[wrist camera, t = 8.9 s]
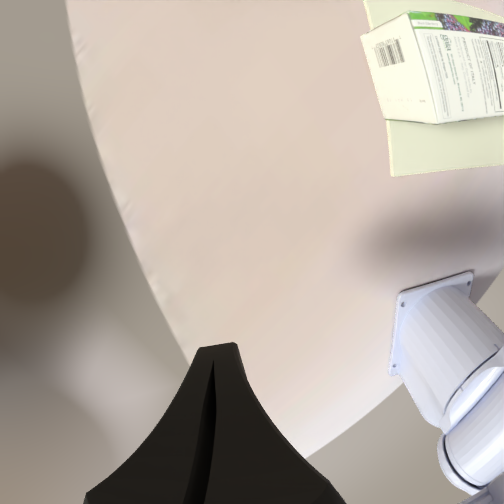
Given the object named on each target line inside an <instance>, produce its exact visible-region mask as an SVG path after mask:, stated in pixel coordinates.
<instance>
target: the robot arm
mask: <svg viewBox="0 0 504 504" xmlns="http://www.w3.org/2000/svg"><path fill="white" fill-rule="evenodd" d="M472 282H473V273H471V272H470V271H469V272H466V273H462V274H459V275H456V276H453V277H450V278H447V279H443V280H440V281H437V282H434V283H430V284H427V285H423V286H420V287H417V288H413V289H410V290H406V291H403V292H401V293H399V295H398V296H397V304H396V314H395V324H394V333H393V341H392V348H391V355H390V362H389V368H388V374H389V375H390V376H394V375H397V374H399V375H400V377H401V379H402V380H403V382H404V384H405V386H406V387H407V389H408V391H409V393H410V395H411V396H412V398H413V400H414V402H415V404H416V405H417V407H418V409H419V411H420V413H421V415H422V416H423V417H424V419H425V420H426V421H428V422H429V423H430V424H432V425H434V426H436V427H438V428H441V429H442V431H443V434H442V435H441V436H440V438H439V440H438V445H437V451H438V459H439V463H440V466H441V469H442V471H443V473H444V474H445V476H446V477H447V479H448V480H449V481H450V482H451V483H452V484H453V485H455V486H456V487H457V488H459V489H461V490H464V491H466V492H467V493H469V494H470V495H472V496H471V497H469V498H467V499H465V500H464V501H462V502H461V503H458V504H504V333H503V332H502V331H501V330H500V329H499V328H498V327H497V326H496V325H495V324H494V323H493V322H492V321H491V320H490V319H489V318H488V317H487V316H486V315H485V314H484V313H483V312H482V311H481V310H480V309H479V308H478V307H477V306H476V305H475V304H474V303H473V302H472V301H471V300H470V299H469V297H470V292H471V287H472ZM403 302H404V303H403ZM402 303H403V304H402ZM83 504H346V503H345V501H344V500H343V498H342V497H341V496H340V494H339V493H338V492H337V491H336V489H335V488H334V487H333V486H332V484H331V483H330V481H329V480H328V479H326V478H325V477H324V476H323V475H322V474H321V473H319V472H318V471H317V470H316V469H315V468H314V467H313V466H312V465H310V464H309V463H308V462H307V461H306V460H305V459H304V458H303V457H302V456H301V455H300V454H299V453H298V452H297V451H296V449H295V448H294V447H293V446H292V445H291V444H290V443H289V442H288V440H287V439H286V438H285V437H284V436H283V435H282V434H281V432H280V431H279V430H278V428H277V427H276V426H275V425H274V423H273V422H272V420H271V419H270V418H269V416H268V415H267V413H266V412H265V410H264V409H263V407H262V406H261V404H260V402H259V401H258V399H257V397H256V396H255V394H254V392H253V390H252V388H251V387H250V384H249V382H248V380H247V377H246V373H245V370H244V367H243V363H242V360H241V356H240V353H239V349H238V346H237V344H236V343H234V342H231V343H225V344H219V345H213V346H206V347H200V348H199V349H198V350H197V352H196V355H195V357H194V359H193V362H192V364H191V366H190V368H189V370H188V372H187V374H186V376H185V378H184V380H183V382H182V384H181V386H180V388H179V390H178V392H177V394H176V395H175V397H174V399H173V400H172V402H171V404H170V405H169V407H168V409H167V410H166V412H165V413H164V415H163V417H162V418H161V419H160V421H159V423H158V424H157V425H156V427H155V428H154V429H153V431H152V432H151V433H150V435H149V436H148V437H147V438H146V439H145V441H144V442H143V443H142V444H141V445H140V447H139V448H138V449H137V450H136V451H135V452H134V453H133V454H132V455H131V456H130V457H129V458H128V459H127V460H126V461H125V462H124V463H123V464H122V465H121V466H120V467H119V468H118V469H117V470H116V471H114V472H113V473H112V474H111V475H110V476H109V477H108V478H106V479H105V480H103V481H102V482H101V483H99V484H98V485H97V486H95V487H94V488H93V489H91V490H90V491H89V492H87V493H86V496H85V499H84V503H83Z"/></svg>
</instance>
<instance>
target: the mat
mask: <svg viewBox="0 0 504 504" xmlns="http://www.w3.org/2000/svg"><path fill="white" fill-rule="evenodd" d="M363 2H364V5H365V9H366V13H367V17H368V21H369V25H370V30H372V29H373V28H375V27H377V26H378V25H380V24H382V23H384V22H386V21H388V20H390V19H392V18H394V17H396V16H398V15H400V14H402V13H405V12H406V11H421V12H434V13H444V14H452V15H461V16H467V17H473V18H479V19H485V20H490V21H495V22H500V23H504V17H501V16H499V15H496V14H493V13H491V12H488V11H485V10H482V9H479V8H476V7H473V6H470V5H467V4H463V3H460V2H456V1H453V0H363ZM386 125H387V134H388V145H389V157H390V171H391V176H393V177H397V176H405V175H413V174H421V173H429V172H438V171H446V170H456V169H465V168H476V167H487V166H498V165H504V116H500V117H491V118H483V119H475V120H467V121H460V122H451V123H445V124H439V125H431V124H423V123H414V122H404V121H390V120H386Z"/></svg>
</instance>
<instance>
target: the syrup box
mask: <svg viewBox="0 0 504 504" xmlns="http://www.w3.org/2000/svg"><path fill="white" fill-rule="evenodd" d="M360 38H361V41H362V44H363V47H364V51H365V54H366V58H367V61H368V65H369V68H370V72H371V75H372V79H373V82H374V86H375V90H376V93H377V97H378V100H379V103H380V107H381V110H382V113H383V116H384V119H385V120H390V121H404V122H414V123H423V124H431V125H439V124H445V123H451V122H460V121H467V120H475V119H483V118H491V117H500V116H504V23H500V22H495V21H490V20H485V19H479V18H473V17H467V16H461V15H452V14H444V13H434V12H421V11H406V12H405V13H402V14H400V15H398V16H396V17H394V18H392V19H390V20H388V21H386V22H384V23H382V24H380V25H378V26H377V27H375V28H373V29H372V30H370V31H369V32H367V33H366V34H363V35H361V37H360Z"/></svg>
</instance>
